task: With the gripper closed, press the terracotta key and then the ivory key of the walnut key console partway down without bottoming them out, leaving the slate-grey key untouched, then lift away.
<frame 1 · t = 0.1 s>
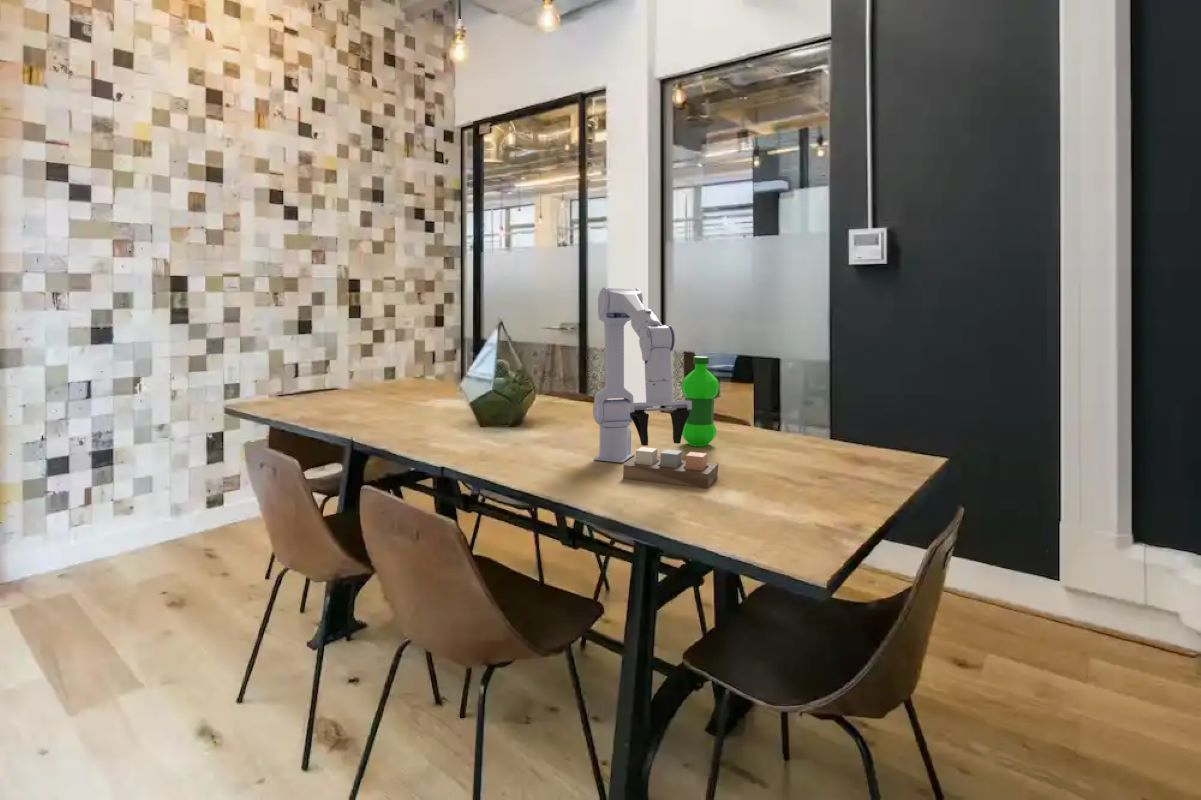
hand: (661, 444, 154), 11 cm above the table, tool pointing down, fingers open, 7 cm apart
console: (670, 477, 167), on the table
plastic bottle: (698, 445, 203), on the table
key ivory: (646, 456, 168), point 4 cm above the table, slide at 0.0 cm
key terracotta: (696, 462, 164), point 4 cm above the table, slide at 0.0 cm
key slate: (671, 459, 166), point 4 cm above the table, slide at 0.0 cm
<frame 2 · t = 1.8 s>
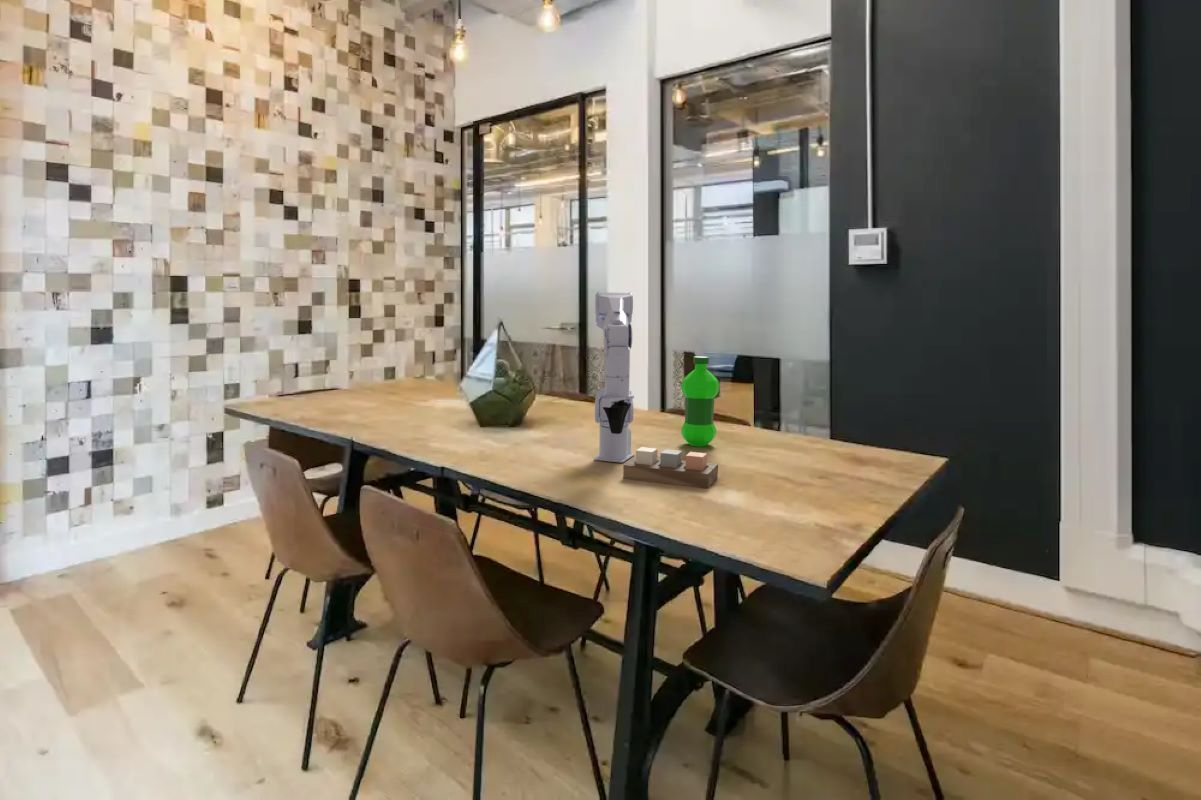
hand: (616, 433, 168), 10 cm above the table, tool pointing down, fingers closed
nothing on the table moved.
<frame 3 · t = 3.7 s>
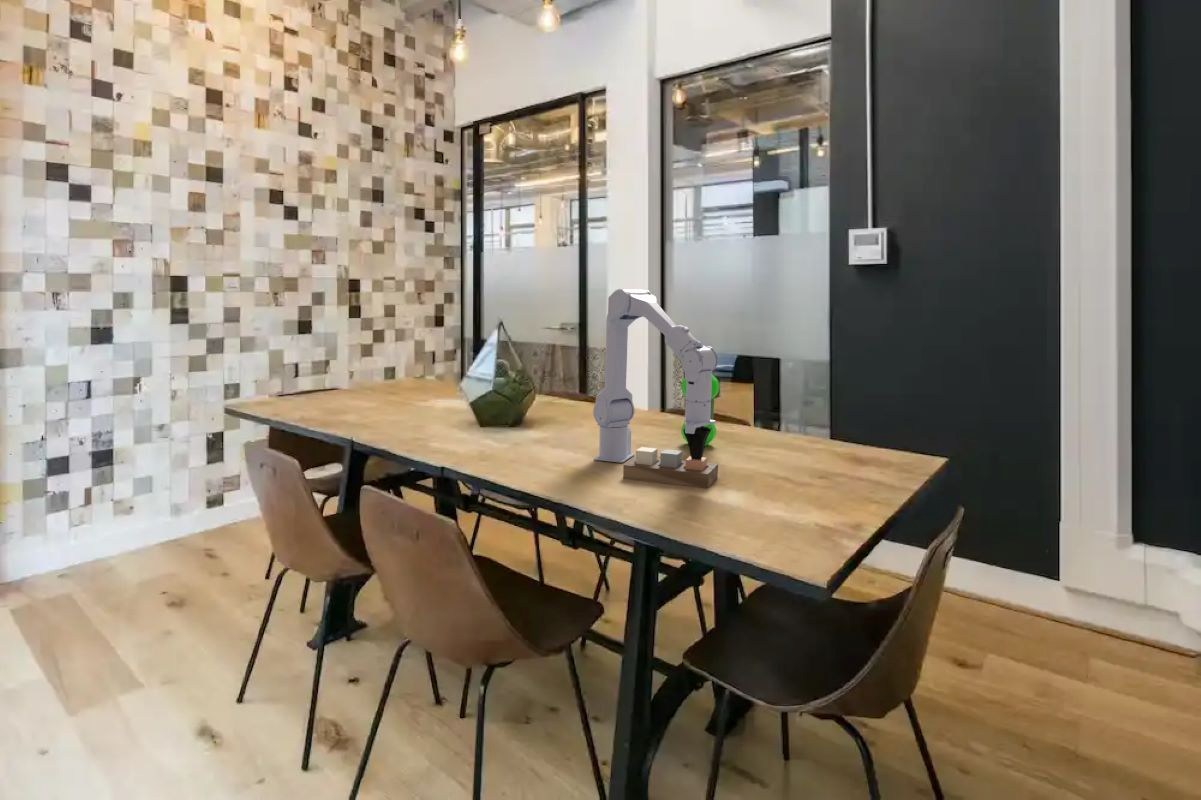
hand: (696, 458, 164), 5 cm above the table, tool pointing down, fingers closed, pressing on key terracotta
key terracotta: (696, 466, 164), point 3 cm above the table, slide at 1.0 cm, touching gripper
everything else where it was.
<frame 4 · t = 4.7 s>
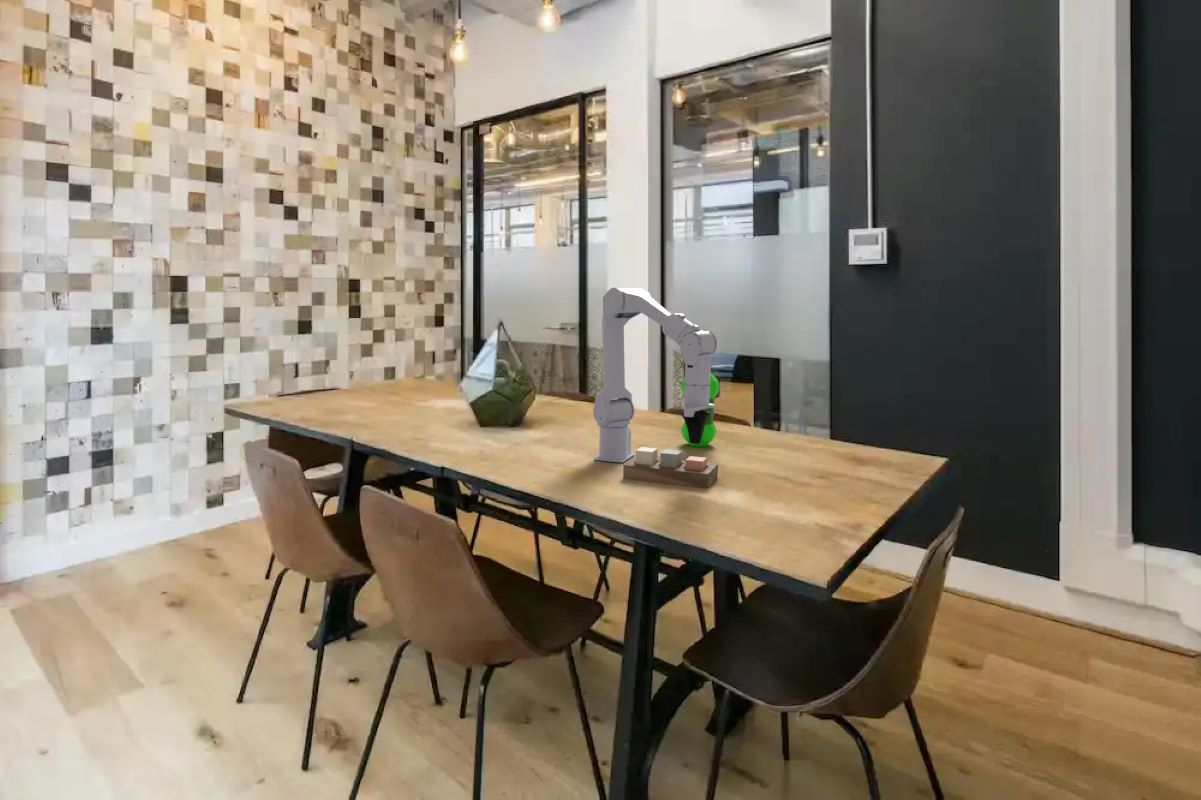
hand: (695, 442, 163), 9 cm above the table, tool pointing down, fingers closed
key terracotta: (696, 466, 164), point 3 cm above the table, slide at 1.0 cm
everything else where it was.
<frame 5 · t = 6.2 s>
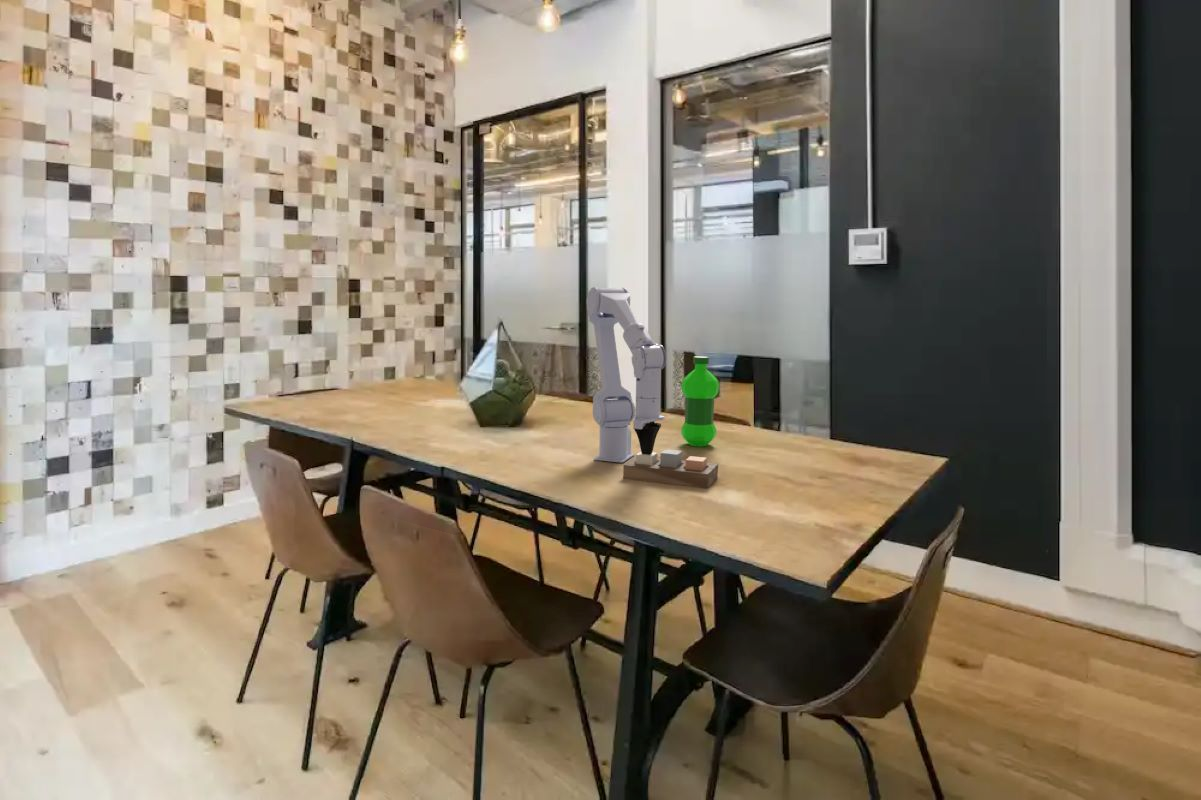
hand: (646, 453, 168), 5 cm above the table, tool pointing down, fingers closed, pressing on key ivory
key ivory: (646, 461, 168), point 3 cm above the table, slide at 1.0 cm, touching gripper
everything else where it was.
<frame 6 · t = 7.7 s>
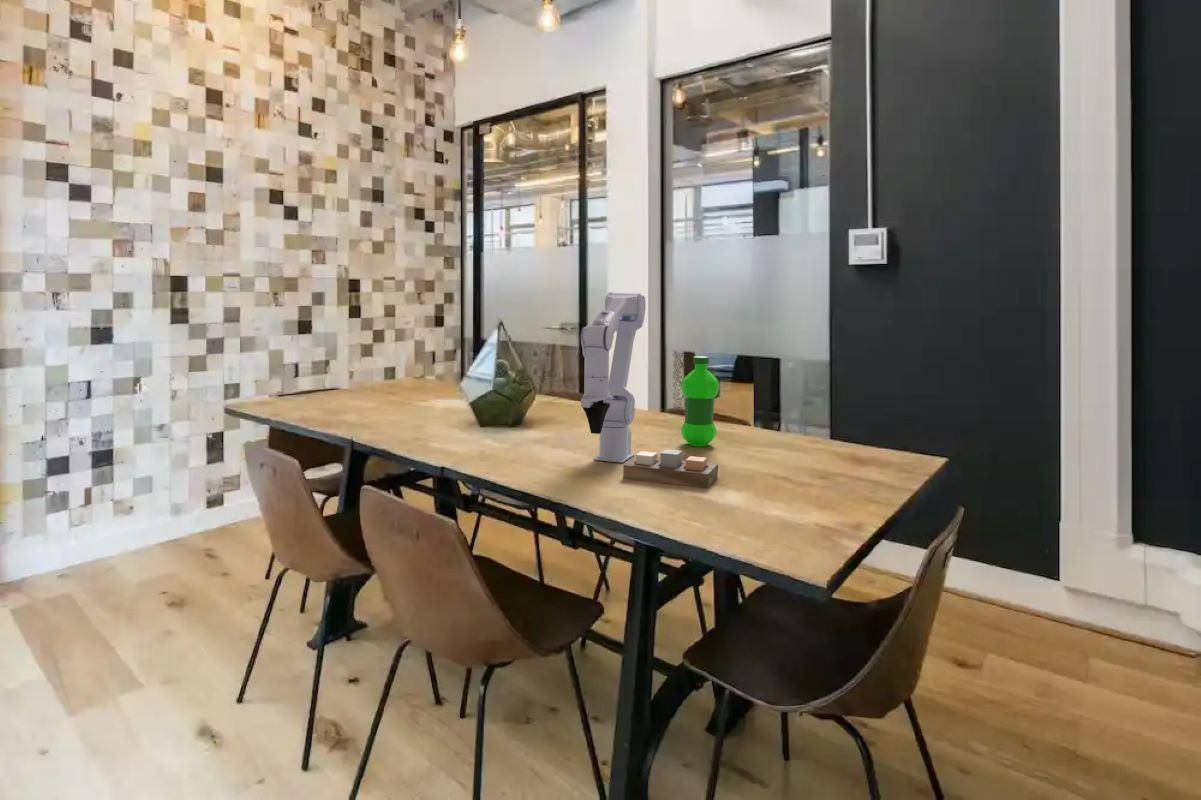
hand: (595, 433, 169), 10 cm above the table, tool pointing down, fingers closed
key ivory: (646, 461, 168), point 3 cm above the table, slide at 1.0 cm
everything else where it was.
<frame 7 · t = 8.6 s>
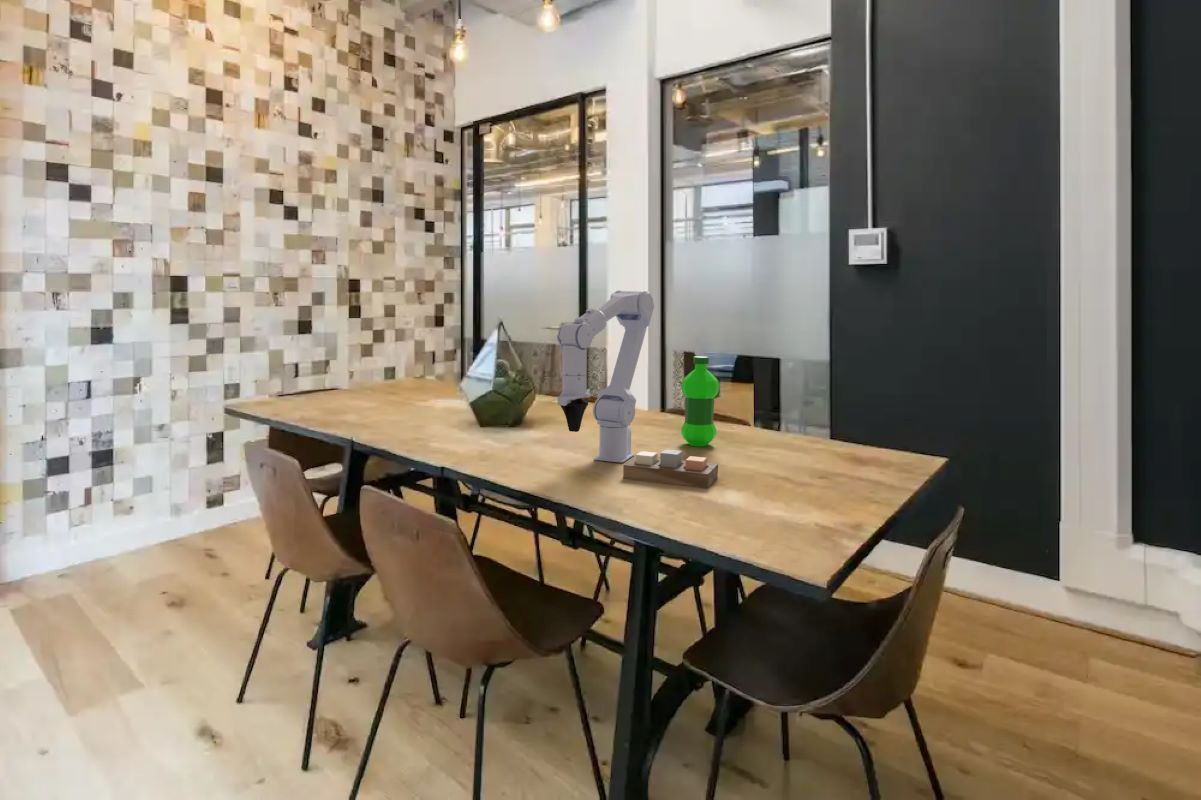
hand: (574, 431, 170), 10 cm above the table, tool pointing down, fingers closed
nothing on the table moved.
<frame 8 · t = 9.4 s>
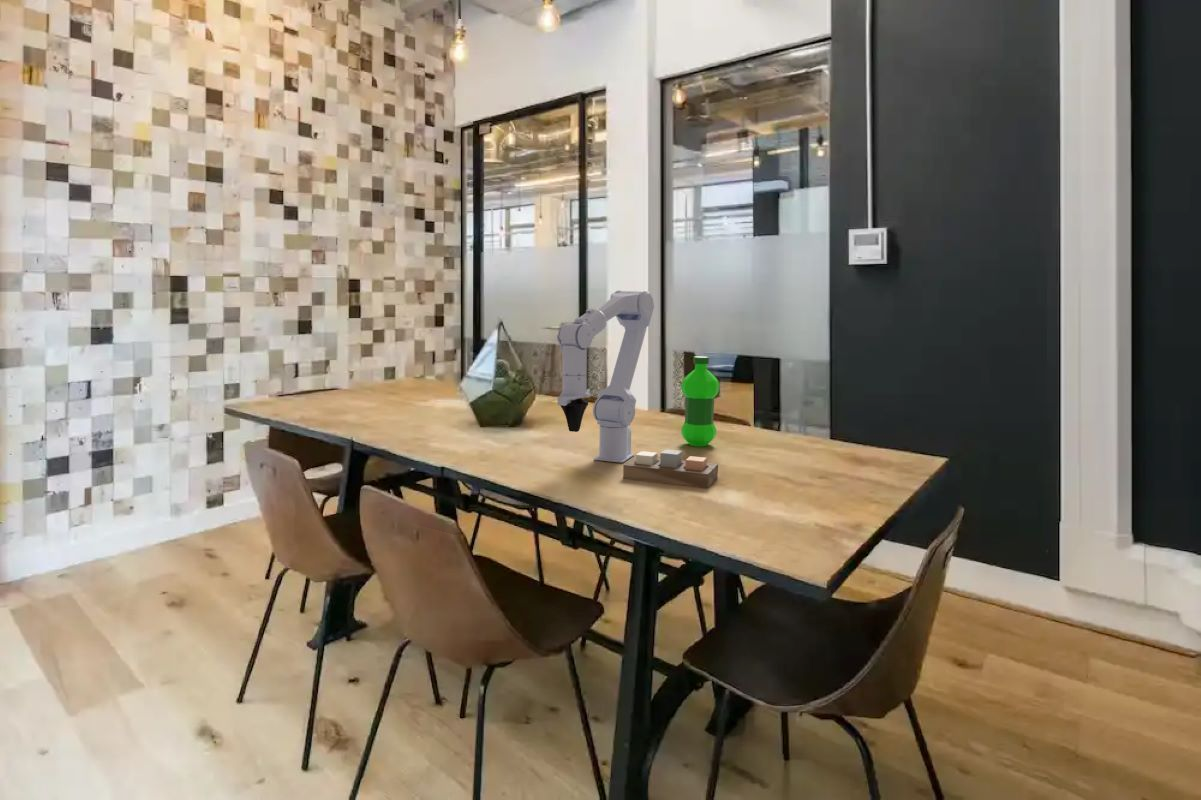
hand: (574, 431, 170), 10 cm above the table, tool pointing down, fingers closed
nothing on the table moved.
at the end: key terracotta slide at 1.0 cm; key ivory slide at 1.0 cm; key slate slide at 0.0 cm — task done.
